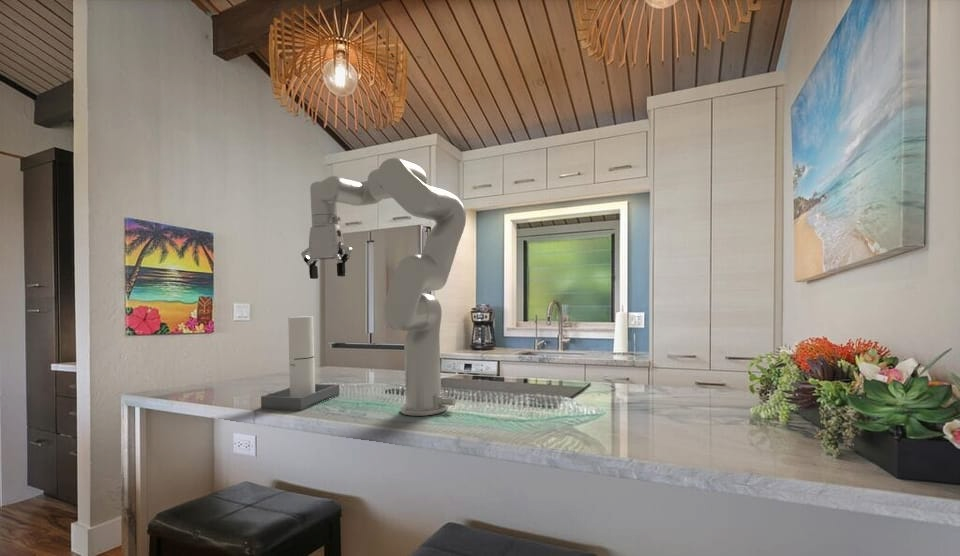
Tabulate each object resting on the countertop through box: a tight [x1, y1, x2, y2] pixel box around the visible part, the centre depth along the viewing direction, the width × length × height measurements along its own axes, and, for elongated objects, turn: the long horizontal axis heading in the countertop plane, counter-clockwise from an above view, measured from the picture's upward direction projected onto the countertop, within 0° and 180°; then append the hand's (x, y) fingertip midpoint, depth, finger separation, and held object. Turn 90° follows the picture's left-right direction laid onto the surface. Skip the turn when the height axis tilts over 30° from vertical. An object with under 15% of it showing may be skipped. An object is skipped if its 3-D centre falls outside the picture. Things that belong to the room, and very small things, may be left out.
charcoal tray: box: [260, 383, 340, 412], centre depth 139 cm, size 14×18×4 cm
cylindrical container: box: [287, 315, 316, 397], centre depth 140 cm, size 7×7×25 cm
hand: (327, 277), depth 141 cm, fingers open, 9 cm apart
